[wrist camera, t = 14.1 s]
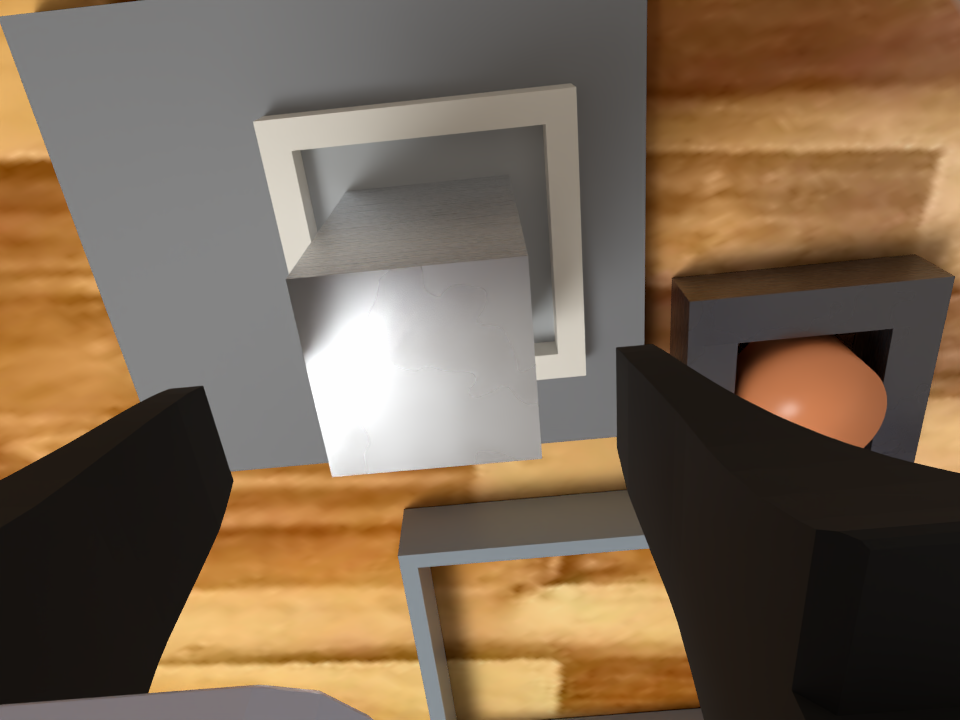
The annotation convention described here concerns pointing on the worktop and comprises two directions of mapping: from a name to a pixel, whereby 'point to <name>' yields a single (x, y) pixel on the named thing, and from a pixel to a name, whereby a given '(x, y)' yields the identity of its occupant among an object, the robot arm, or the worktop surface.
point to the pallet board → (338, 176)
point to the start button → (814, 386)
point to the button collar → (825, 326)
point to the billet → (420, 328)
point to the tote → (499, 538)
